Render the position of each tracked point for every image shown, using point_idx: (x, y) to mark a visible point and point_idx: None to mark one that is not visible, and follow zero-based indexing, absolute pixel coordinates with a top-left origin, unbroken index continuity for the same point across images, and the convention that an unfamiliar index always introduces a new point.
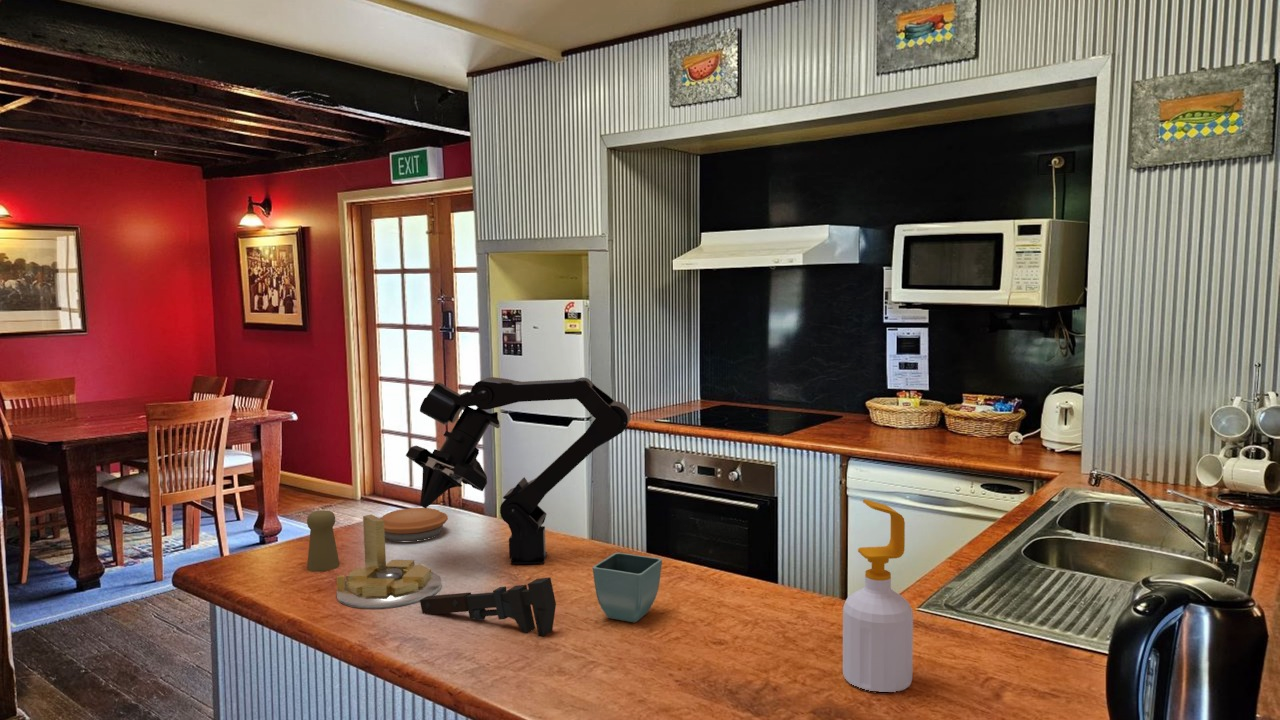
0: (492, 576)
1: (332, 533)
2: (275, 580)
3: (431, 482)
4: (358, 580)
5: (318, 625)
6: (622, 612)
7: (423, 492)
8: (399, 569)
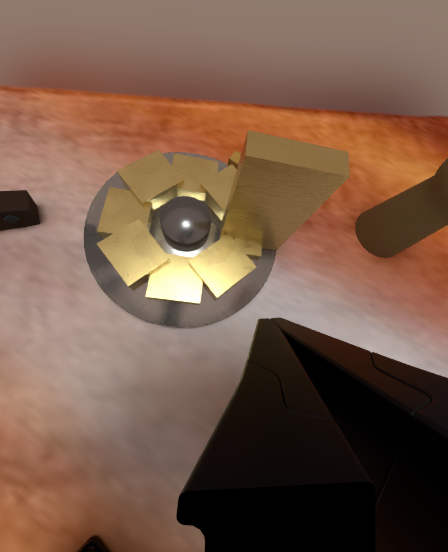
0: (72, 432)
1: (427, 211)
2: (359, 161)
3: (279, 395)
4: (207, 175)
5: (141, 102)
6: None
7: (307, 338)
8: (184, 240)
